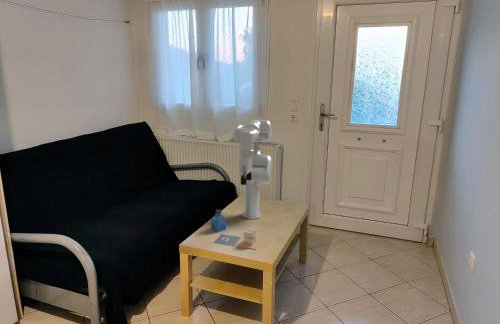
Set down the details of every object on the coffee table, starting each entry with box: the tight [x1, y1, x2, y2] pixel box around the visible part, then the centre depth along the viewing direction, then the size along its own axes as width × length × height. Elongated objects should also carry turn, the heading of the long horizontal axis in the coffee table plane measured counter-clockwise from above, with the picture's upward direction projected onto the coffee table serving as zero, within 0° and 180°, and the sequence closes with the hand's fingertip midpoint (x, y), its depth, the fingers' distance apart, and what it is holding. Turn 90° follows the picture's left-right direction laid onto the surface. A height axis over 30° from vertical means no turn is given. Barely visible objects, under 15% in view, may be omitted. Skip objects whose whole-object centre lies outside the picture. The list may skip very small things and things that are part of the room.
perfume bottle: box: [210, 209, 227, 233], centre depth 212 cm, size 6×6×12 cm
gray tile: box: [213, 233, 241, 247], centre depth 199 cm, size 12×12×1 cm
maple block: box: [243, 228, 257, 245], centre depth 195 cm, size 5×5×7 cm
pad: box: [237, 237, 262, 251], centre depth 195 cm, size 12×10×1 cm
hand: (246, 182), depth 204 cm, fingers open, 9 cm apart
